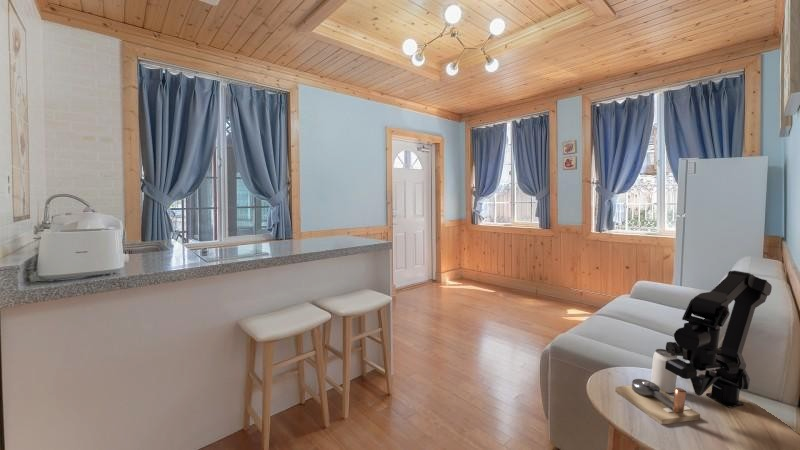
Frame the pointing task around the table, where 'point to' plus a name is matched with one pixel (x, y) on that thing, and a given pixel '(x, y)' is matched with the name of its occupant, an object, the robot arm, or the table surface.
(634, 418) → the table surface
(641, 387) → the lever
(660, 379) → the can
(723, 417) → the table surface
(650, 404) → the stand
